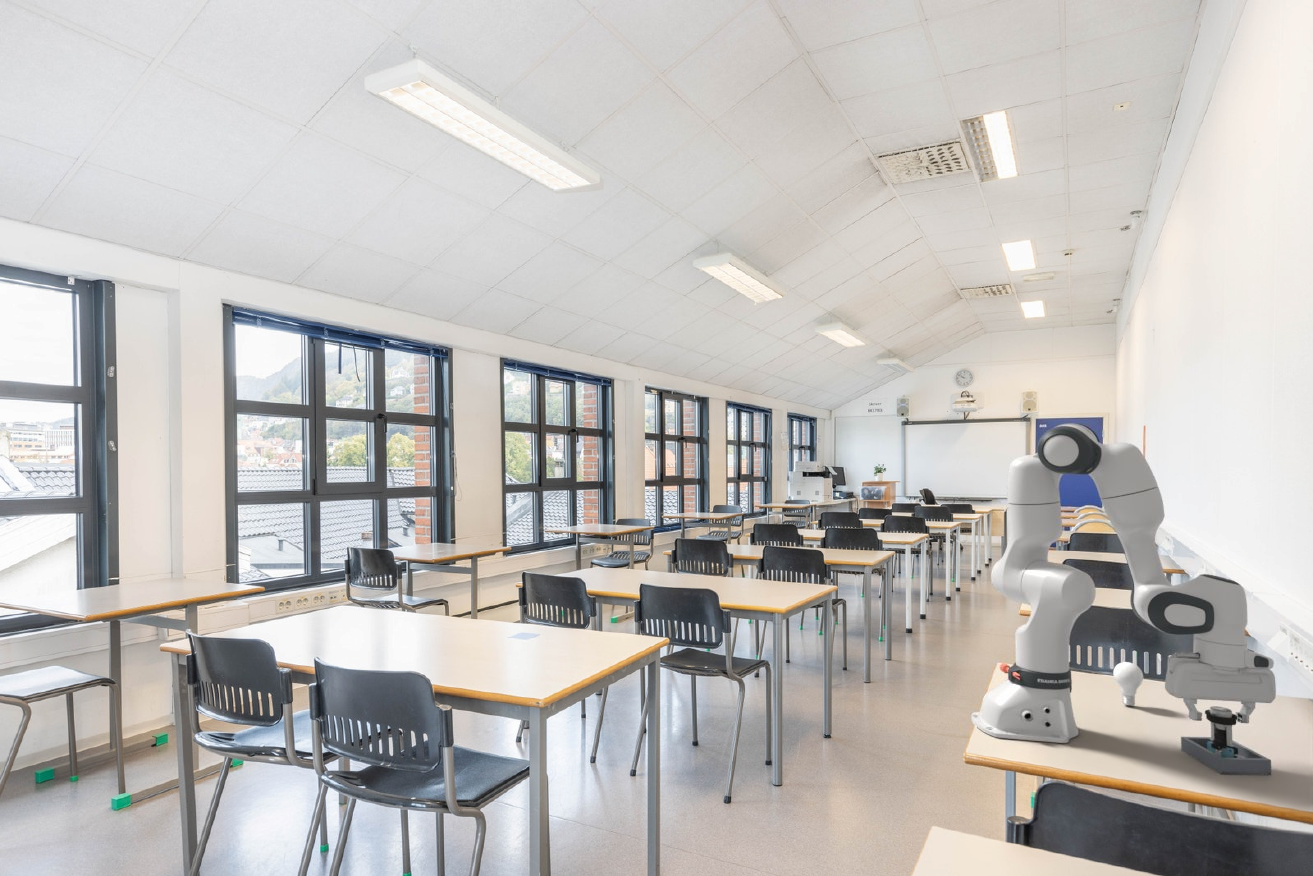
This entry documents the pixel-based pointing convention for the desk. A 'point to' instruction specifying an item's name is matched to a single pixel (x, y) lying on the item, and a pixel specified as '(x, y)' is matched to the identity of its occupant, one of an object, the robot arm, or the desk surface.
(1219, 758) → the tray
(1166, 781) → the desk surface
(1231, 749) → the push button
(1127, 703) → the lightbulb
